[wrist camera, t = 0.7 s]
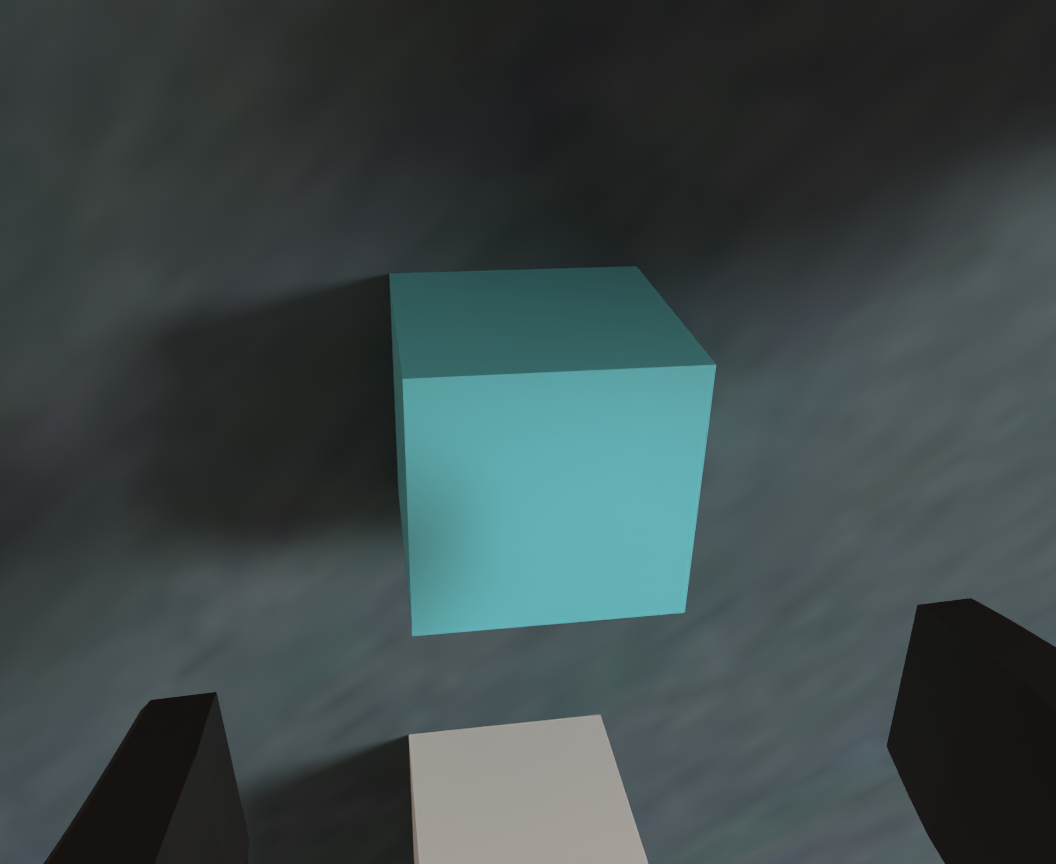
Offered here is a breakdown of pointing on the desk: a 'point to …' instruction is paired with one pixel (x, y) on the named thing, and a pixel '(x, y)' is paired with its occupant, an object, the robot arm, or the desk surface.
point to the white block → (521, 796)
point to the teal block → (545, 446)
